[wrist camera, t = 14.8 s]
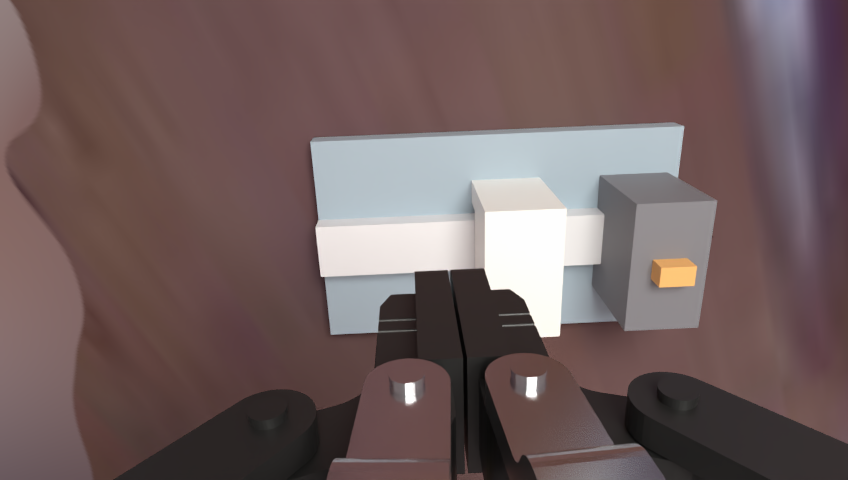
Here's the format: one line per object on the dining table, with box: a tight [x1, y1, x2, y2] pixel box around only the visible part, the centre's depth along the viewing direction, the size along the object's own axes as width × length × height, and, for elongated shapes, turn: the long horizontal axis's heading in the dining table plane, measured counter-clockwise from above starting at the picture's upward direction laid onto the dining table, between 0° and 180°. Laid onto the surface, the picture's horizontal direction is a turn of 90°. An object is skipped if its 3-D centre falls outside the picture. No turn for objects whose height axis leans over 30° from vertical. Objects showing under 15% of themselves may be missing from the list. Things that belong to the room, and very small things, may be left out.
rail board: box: [310, 122, 717, 335], centre depth 36 cm, size 14×24×9 cm, turn 92°
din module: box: [472, 177, 567, 337], centre depth 36 cm, size 8×4×7 cm, turn 2°
